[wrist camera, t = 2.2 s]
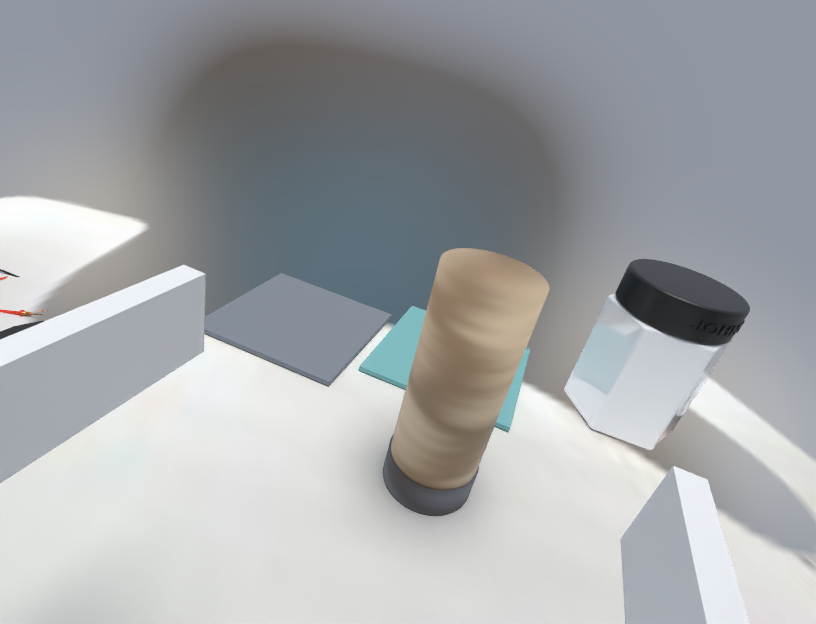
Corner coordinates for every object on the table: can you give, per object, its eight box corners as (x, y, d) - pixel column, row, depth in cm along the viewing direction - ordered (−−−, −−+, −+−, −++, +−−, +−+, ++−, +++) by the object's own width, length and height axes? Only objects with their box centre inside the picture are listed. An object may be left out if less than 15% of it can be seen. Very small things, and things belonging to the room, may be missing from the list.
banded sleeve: (478, 464, 30) (555, 271, 24) (457, 531, 26) (545, 315, 19) (401, 431, 31) (455, 238, 25) (368, 490, 27) (422, 271, 20)
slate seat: (390, 318, 44) (391, 314, 44) (328, 386, 34) (329, 382, 34) (281, 276, 47) (281, 273, 46) (192, 328, 36) (192, 324, 36)
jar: (640, 466, 34) (731, 325, 28) (547, 398, 38) (607, 266, 32) (684, 423, 39) (766, 299, 34) (598, 368, 44) (657, 252, 38)
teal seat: (528, 352, 44) (530, 349, 44) (508, 431, 34) (509, 427, 33) (411, 309, 46) (412, 305, 46) (358, 370, 36) (359, 366, 36)
